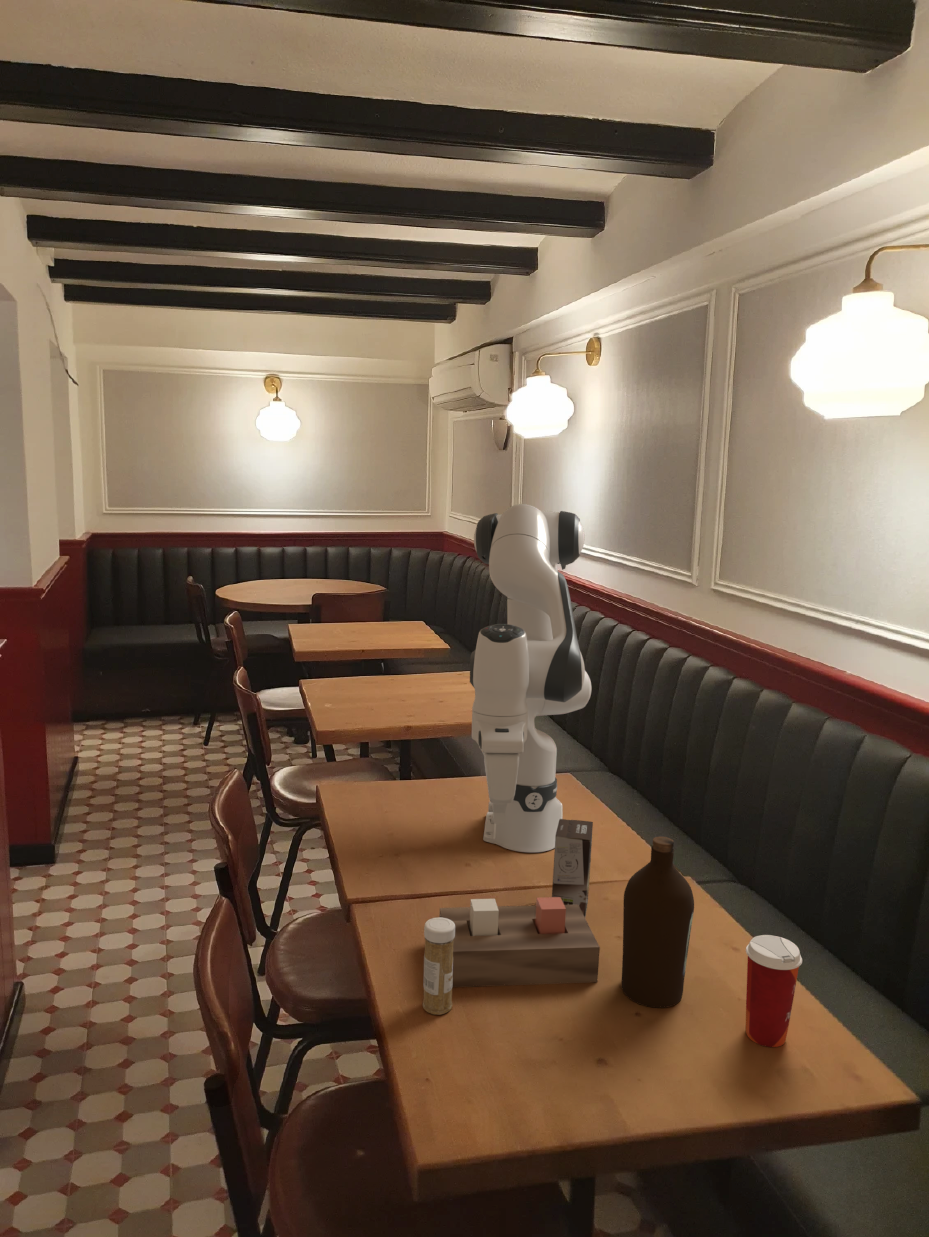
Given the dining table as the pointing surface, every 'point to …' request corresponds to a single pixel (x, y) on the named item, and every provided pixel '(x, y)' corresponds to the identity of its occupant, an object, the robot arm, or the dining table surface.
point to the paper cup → (770, 988)
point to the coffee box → (572, 862)
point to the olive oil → (656, 930)
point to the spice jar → (438, 965)
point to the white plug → (483, 917)
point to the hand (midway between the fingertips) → (497, 811)
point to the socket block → (522, 950)
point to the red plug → (550, 915)
